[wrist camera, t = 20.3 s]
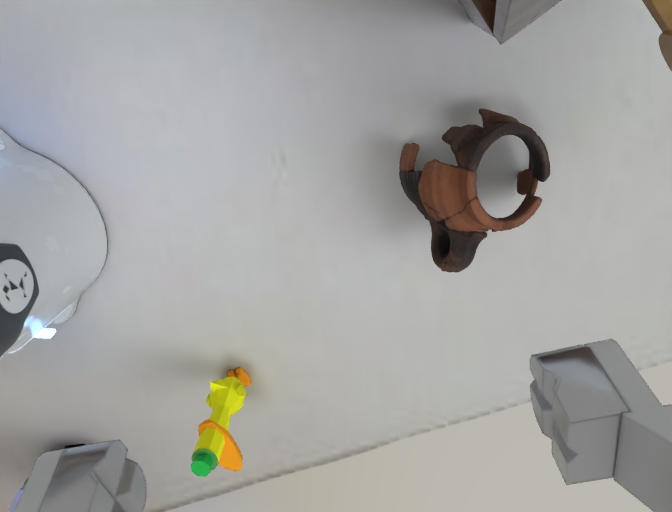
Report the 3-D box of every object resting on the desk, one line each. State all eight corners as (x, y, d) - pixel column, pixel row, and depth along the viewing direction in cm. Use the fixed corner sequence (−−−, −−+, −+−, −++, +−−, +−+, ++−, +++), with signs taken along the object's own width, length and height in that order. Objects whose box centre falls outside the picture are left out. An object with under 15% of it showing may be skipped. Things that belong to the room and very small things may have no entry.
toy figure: (272, 397, 56) (246, 499, 45) (241, 408, 57) (209, 510, 46) (237, 346, 53) (201, 442, 42) (206, 358, 54) (163, 454, 43)
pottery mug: (397, 102, 42) (464, 103, 35) (496, 115, 46) (575, 118, 39) (378, 258, 45) (437, 288, 37) (473, 257, 49) (544, 285, 41)
